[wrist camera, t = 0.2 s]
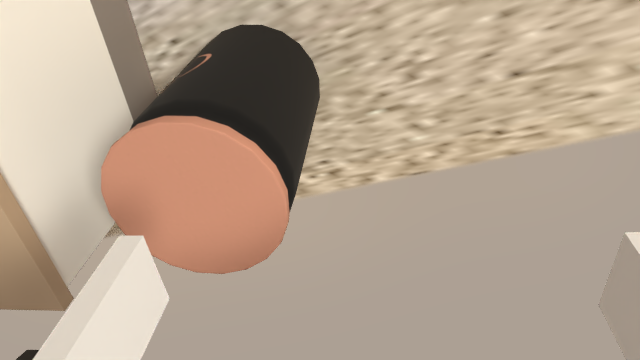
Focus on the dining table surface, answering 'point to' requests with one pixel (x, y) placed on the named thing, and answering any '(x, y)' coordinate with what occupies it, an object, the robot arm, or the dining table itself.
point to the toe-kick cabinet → (60, 137)
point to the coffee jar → (218, 154)
